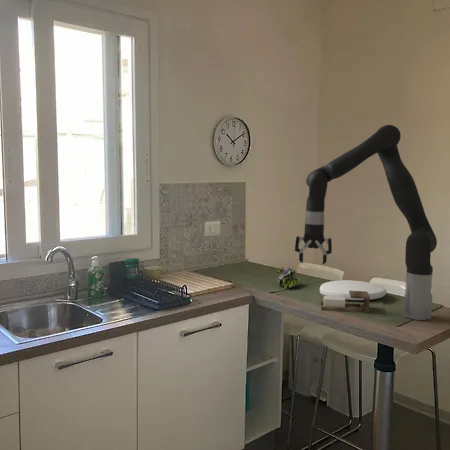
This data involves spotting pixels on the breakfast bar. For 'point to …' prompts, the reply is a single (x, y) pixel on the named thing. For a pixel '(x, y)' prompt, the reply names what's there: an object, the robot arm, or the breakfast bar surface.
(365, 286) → the plate
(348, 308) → the dock
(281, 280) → the passion flower
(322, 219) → the robot arm
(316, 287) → the breakfast bar surface
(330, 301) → the white rectangular block
